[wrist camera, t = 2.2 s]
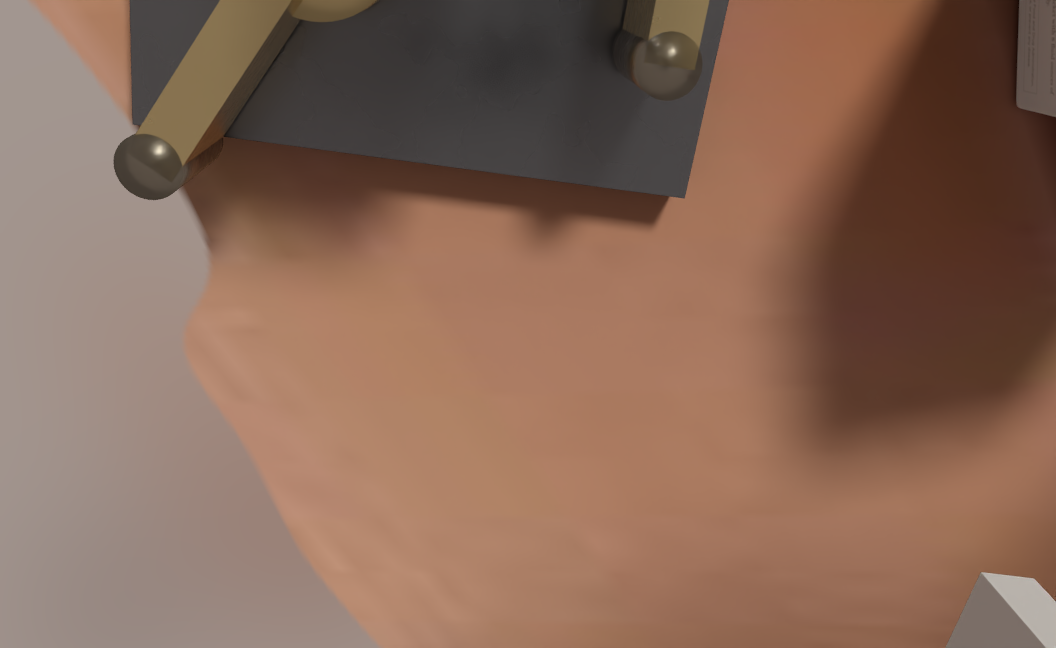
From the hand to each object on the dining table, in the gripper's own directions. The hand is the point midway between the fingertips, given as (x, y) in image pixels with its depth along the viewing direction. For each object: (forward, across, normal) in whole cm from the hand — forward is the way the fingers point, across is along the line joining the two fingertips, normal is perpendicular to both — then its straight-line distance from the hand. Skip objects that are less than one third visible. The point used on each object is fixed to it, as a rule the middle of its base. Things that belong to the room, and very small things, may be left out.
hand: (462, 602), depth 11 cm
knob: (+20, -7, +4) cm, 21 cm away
